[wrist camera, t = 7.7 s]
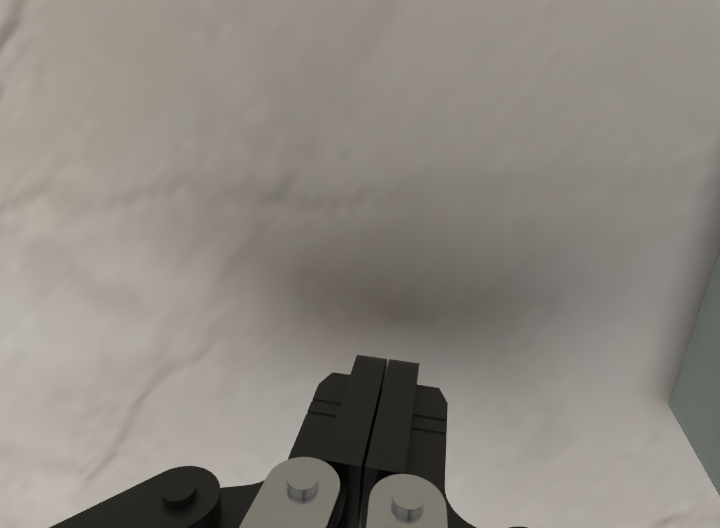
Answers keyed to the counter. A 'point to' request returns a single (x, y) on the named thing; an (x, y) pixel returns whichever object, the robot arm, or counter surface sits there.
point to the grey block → (702, 383)
